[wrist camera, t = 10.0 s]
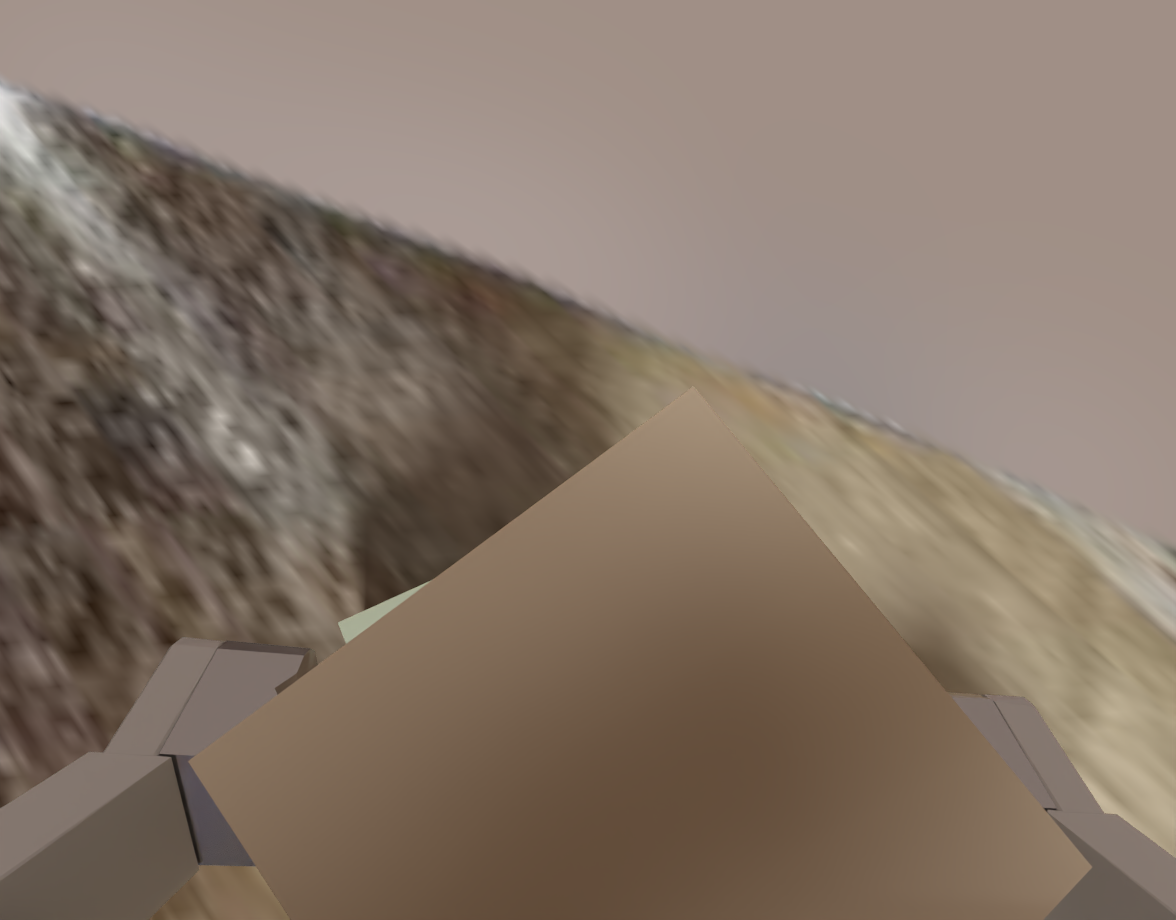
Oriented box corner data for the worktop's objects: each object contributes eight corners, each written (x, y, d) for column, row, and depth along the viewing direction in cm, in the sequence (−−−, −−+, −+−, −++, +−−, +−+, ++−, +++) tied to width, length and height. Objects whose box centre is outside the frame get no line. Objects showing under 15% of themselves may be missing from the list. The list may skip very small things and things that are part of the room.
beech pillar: (379, 699, 14) (186, 762, 6) (602, 527, 15) (693, 386, 7) (552, 947, 13) (598, 1393, 5) (774, 747, 14) (1093, 866, 6)
